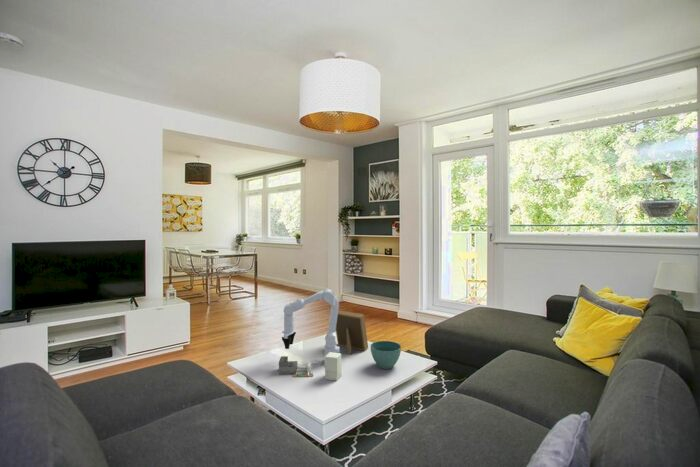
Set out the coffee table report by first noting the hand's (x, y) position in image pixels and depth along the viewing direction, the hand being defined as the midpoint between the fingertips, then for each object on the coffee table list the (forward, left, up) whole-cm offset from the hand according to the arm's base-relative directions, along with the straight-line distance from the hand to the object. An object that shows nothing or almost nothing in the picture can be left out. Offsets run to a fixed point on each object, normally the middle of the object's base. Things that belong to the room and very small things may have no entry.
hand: (289, 346), depth 214 cm
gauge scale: (-10, +19, -10) cm, 23 cm away
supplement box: (-27, +21, -10) cm, 36 cm away
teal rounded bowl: (-58, +7, -10) cm, 60 cm away
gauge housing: (-1, +12, -10) cm, 16 cm away
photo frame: (-37, -21, -10) cm, 44 cm away
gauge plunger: (-9, +15, -9) cm, 19 cm away
